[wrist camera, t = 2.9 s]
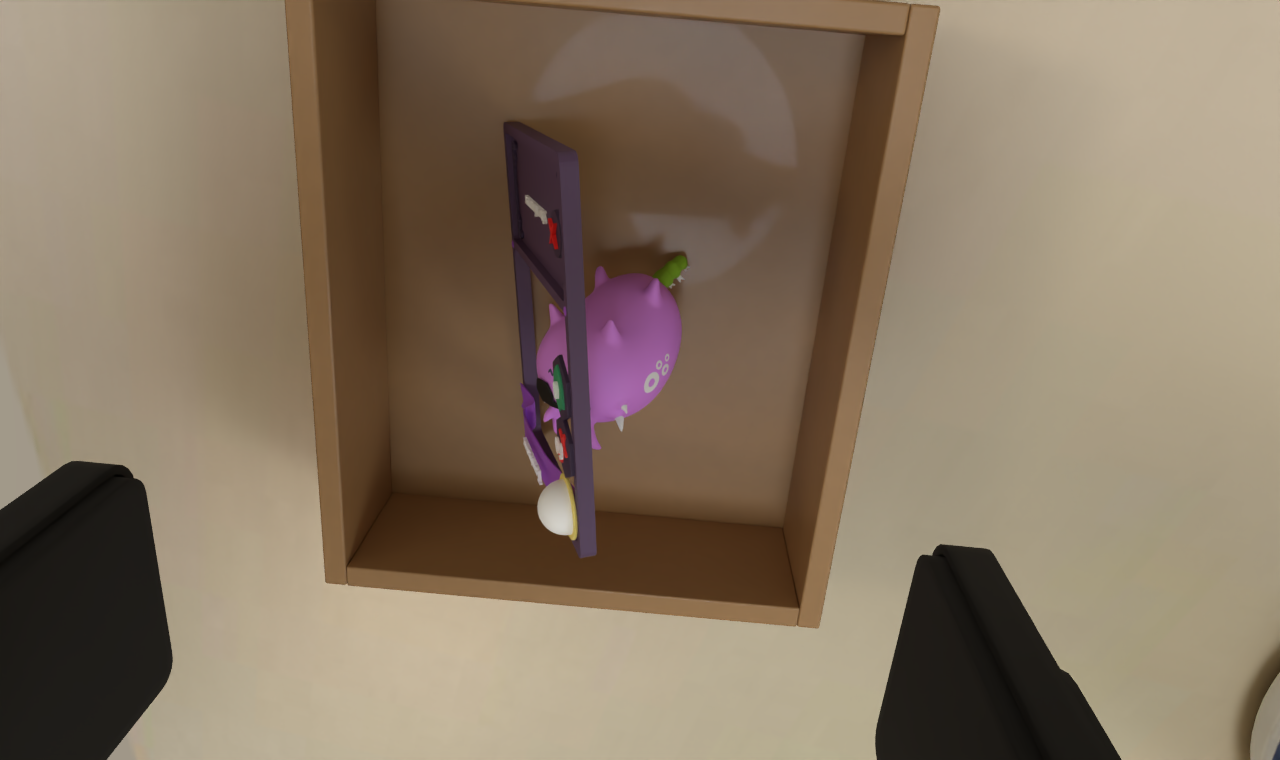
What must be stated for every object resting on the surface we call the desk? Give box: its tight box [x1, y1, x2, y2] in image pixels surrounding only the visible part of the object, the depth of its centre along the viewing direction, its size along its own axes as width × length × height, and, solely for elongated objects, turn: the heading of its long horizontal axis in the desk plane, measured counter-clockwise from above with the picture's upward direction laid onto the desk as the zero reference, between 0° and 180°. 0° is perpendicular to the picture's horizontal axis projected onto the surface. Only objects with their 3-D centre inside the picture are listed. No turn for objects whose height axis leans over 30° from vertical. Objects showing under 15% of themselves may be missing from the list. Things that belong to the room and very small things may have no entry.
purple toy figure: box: [503, 121, 690, 558], centre depth 21 cm, size 7×5×9 cm
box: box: [285, 0, 940, 628], centre depth 22 cm, size 13×15×4 cm
